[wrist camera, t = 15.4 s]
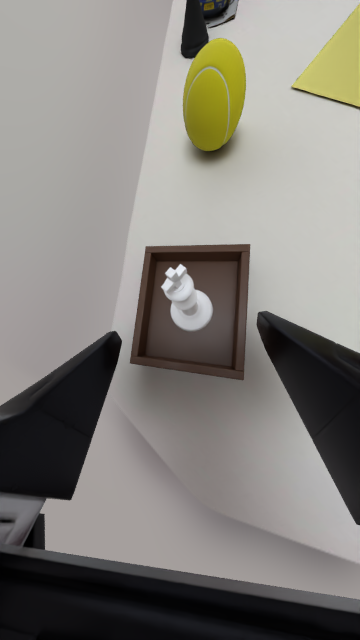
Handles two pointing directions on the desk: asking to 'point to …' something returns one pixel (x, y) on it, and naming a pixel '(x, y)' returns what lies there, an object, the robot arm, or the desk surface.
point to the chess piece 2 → (186, 300)
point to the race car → (218, 10)
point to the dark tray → (226, 322)
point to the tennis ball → (214, 94)
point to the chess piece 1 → (193, 30)
